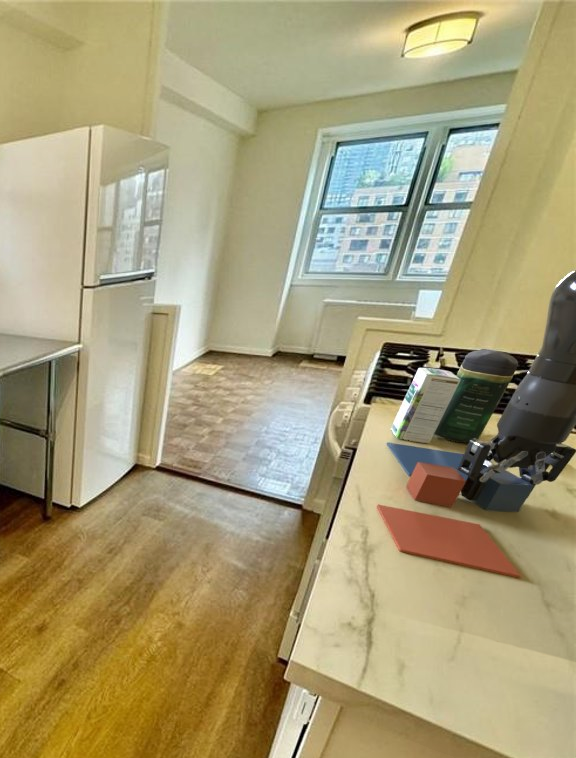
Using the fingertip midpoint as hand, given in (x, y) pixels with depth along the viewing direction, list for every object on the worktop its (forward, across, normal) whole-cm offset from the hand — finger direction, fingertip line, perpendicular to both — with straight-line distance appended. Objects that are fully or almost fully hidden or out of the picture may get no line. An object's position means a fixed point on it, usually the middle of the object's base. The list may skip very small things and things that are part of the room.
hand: (491, 499), depth 80 cm
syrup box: (+1, +6, +27) cm, 28 cm away
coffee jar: (+1, +16, +28) cm, 33 cm away
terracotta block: (+1, -9, +1) cm, 9 cm away
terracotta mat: (+1, -16, -11) cm, 19 cm away
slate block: (+1, 0, 0) cm, 1 cm away
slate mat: (+1, +3, +13) cm, 13 cm away
